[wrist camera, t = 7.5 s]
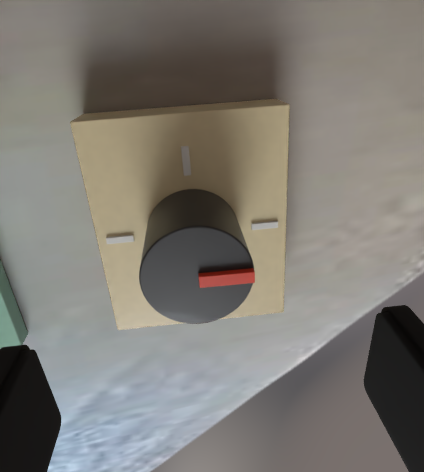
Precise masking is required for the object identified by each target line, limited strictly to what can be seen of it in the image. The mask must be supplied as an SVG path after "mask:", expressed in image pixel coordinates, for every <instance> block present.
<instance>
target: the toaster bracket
mask: <svg viewBox="0 0 424 472" xmlns="http://www.w3.org/2000/svg"><path fill="white" fill-rule="evenodd" d="M27 335H28V332H27V330H26V327H25V324H24V322H23V319H22V316H21V314H20V311H19V308H18V306H17V303H16V300H15V298H14V295H13V292H12V289H11V287H10V284H9V281H8V279H7V276H6V273H5V271H4V268H3V265H2V263H1V260H0V348H2V347H8V346H18V345H22V344H23V342H24V340H25V338H26V337H27Z"/></svg>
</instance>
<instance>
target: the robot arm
mask: <svg viewBox="0 0 424 472" xmlns="http://www.w3.org/2000/svg"><path fill="white" fill-rule="evenodd" d="M364 386H365V390H366V392H367V394H368V397H369V398H370V400H371V402H372V404H373V406H374V408H375V409H376V411H377V413H378V415H379V417H380V419H381V421H382V422H383V424H384V426H385V428H386V430H387V432H388V434H389V435H390V437H391V439H392V441H393V443H394V445H395V447H396V448H397V450H398V452H399V454H400V456H401V458H402V460H403V461H404V463H405V465H406V467H407V469H408V471H409V472H424V324H423V323H422V321H421V320H420V319H419V318H418V317H417V316H416V315H415V313H414V312H413V311H412V310H411V309H410V308H409V307H408V306H405V305H402V306H392V307H385V308H383V309H382V312H381V313H378V314H377V316H376V320H375V325H374V330H373V335H372V340H371V345H370V350H369V356H368V361H367V367H366V371H365V376H364ZM60 426H61V415H60V412H59V409H58V407H57V404H56V401H55V399H54V396H53V394H52V391H51V389H50V386H49V384H48V381H47V379H46V376H45V374H44V371H43V369H42V366H41V363H40V361H39V358H38V356H37V353H36V351H35V350H30V349H29V347H28V346H27V345H18V346H8V347H2V348H1V349H0V472H47V470H48V466H49V463H50V460H51V456H52V453H53V450H54V447H55V443H56V440H57V437H58V434H59V430H60Z"/></svg>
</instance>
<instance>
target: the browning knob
mask: <svg viewBox="0 0 424 472" xmlns="http://www.w3.org/2000/svg"><path fill="white" fill-rule="evenodd" d="M139 282H140V287H141V290H142V293H143V295H144V297H145V298H146V300H147V302H148V303H149V304H150V305H151V306H152V307H153V308H154V309H155V310H156V311H157V312H159V313H160V314H161V315H163V316H165V317H167V318H169V319H171V320H174V321H178V322H182V323H189V324H201V323H208V322H212V321H215V320H218V319H221V318H223V317H225V316H227V315H229V314H230V313H232V312H233V311H234V310H236V309H237V308H238V307H239V306H240V305H241V304H242V303H243V302H244V300H245V299H246V298H247V296H248V294H249V292H250V290H251V288H252V285H253V283H255V271H254V264H253V260H252V257H251V255H250V252H249V249H248V247H247V244H246V241H245V239H244V236H243V233H242V231H241V228H240V225H239V223H238V220H237V217H236V215H235V213H234V211H233V209H232V208H231V206H230V205H229V204H228V203H227V202H226V201H225V200H224V199H222V198H221V197H220V196H218V195H216V194H214V193H212V192H209V191H206V190H200V189H187V190H181V191H178V192H175V193H173V194H171V195H169V196H167V197H165V198H164V199H163V200H161V201H160V202H159V203H158V204H157V205H156V207H155V208H154V209H153V211H152V213H151V215H150V217H149V220H148V224H147V229H146V235H145V241H144V247H143V252H142V258H141V264H140V270H139Z"/></svg>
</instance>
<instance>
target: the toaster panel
mask: <svg viewBox="0 0 424 472" xmlns="http://www.w3.org/2000/svg"><path fill="white" fill-rule="evenodd" d="M289 109H290V105H289V104H287V103H285V102H283V101H280V100H278V99H265V100H252V101H240V102H227V103H214V104H202V105H189V106H176V107H164V108H151V109H138V110H126V111H113V112H100V113H88V114H82V115H81V116H79V117H77V118H76V119H74V120H73V121H71V122H70V124H71V128H72V133H73V137H74V141H75V146H76V150H77V154H78V159H79V163H80V167H81V172H82V176H83V180H84V185H85V189H86V193H87V198H88V202H89V206H90V211H91V215H92V220H93V224H94V228H95V233H96V237H97V241H98V246H99V250H100V254H101V259H102V263H103V267H104V272H105V276H106V280H107V285H108V289H109V293H110V298H111V302H112V306H113V311H114V315H115V319H116V324H117V328H118V330H125V329H134V328H143V327H152V326H161V325H171V324H180V323H182V322H178V321H174V320H171V319H169V318H167V317H165V316H163V315H161V314H160V313H159V312H157V311H156V310H155V309H154V308H153V307H152V306H151V305H150V304H149V303H148V302H147V300H146V298H145V297H144V295H143V293H142V290H141V287H140V282H139V270H140V264H141V258H142V252H143V247H144V241H145V235H146V229H147V224H148V220H149V217H150V215H151V213H152V211H153V209H154V208H155V207H156V205H157V204H158V203H159V202H160V201H161V200H163V199H164V198H165V197H167V196H169V195H171V194H173V193H175V192H178V191H181V190H187V189H200V190H206V191H209V192H212V193H214V194H216V195H218V196H220V197H221V198H222V199H224V200H225V201H226V202H227V203H228V204H229V205H230V206H231V208H232V209H233V211H234V213H235V215H236V217H237V220H238V223H239V225H240V228H241V231H242V233H243V236H244V239H245V241H246V244H247V247H248V249H249V252H250V255H251V257H252V260H253V264H254V271H255V283H253V285H252V288H251V290H250V292H249V294H248V296H247V298H246V299H245V300H244V302H243V303H242V304H241V305H240V306H239V307H238V308H237V309H236V310H234V311H233V312H232V313H230V314H229V315H227V316H225V317H223V318H221V319H226V318H235V317H244V316H253V315H263V314H272V313H281V312H284V281H285V246H286V212H287V177H288V143H289Z"/></svg>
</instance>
